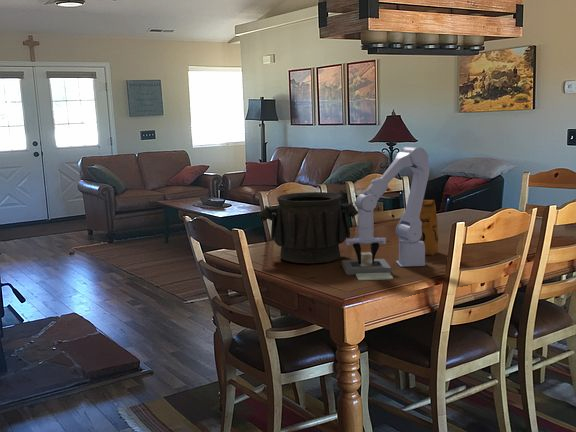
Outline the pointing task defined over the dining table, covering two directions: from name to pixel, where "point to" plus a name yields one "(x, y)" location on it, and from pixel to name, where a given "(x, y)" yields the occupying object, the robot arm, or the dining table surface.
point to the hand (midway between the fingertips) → (365, 263)
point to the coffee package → (429, 227)
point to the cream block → (366, 259)
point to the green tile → (374, 276)
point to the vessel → (309, 226)
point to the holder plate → (365, 267)
